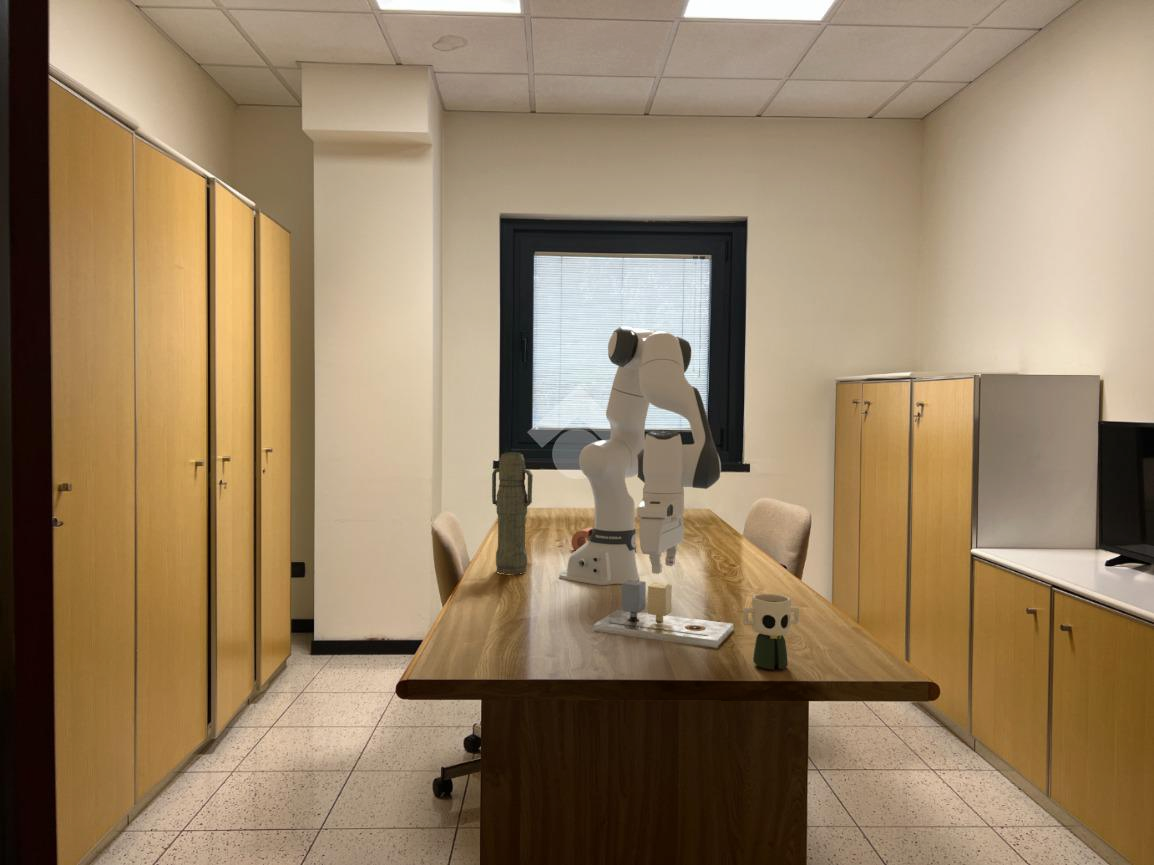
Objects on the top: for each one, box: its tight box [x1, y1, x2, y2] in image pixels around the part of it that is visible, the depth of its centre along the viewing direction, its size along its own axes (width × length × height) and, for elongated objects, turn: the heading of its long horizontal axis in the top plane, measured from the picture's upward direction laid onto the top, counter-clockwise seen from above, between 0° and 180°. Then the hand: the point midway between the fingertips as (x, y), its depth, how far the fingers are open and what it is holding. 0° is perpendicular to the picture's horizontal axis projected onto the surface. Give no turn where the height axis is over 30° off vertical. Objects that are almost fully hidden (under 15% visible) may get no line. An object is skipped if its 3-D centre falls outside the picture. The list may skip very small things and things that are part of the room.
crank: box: [571, 527, 637, 552], centre depth 264 cm, size 20×8×8 cm, turn 68°
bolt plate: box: [593, 580, 734, 649], centre depth 172 cm, size 27×14×10 cm, turn 65°
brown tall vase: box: [491, 451, 534, 575], centre depth 229 cm, size 9×12×35 cm
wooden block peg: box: [647, 582, 673, 623], centre depth 172 cm, size 4×4×8 cm
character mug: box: [742, 593, 800, 670], centre depth 148 cm, size 11×7×13 cm, turn 97°
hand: (663, 569), depth 172 cm, fingers open, 8 cm apart
